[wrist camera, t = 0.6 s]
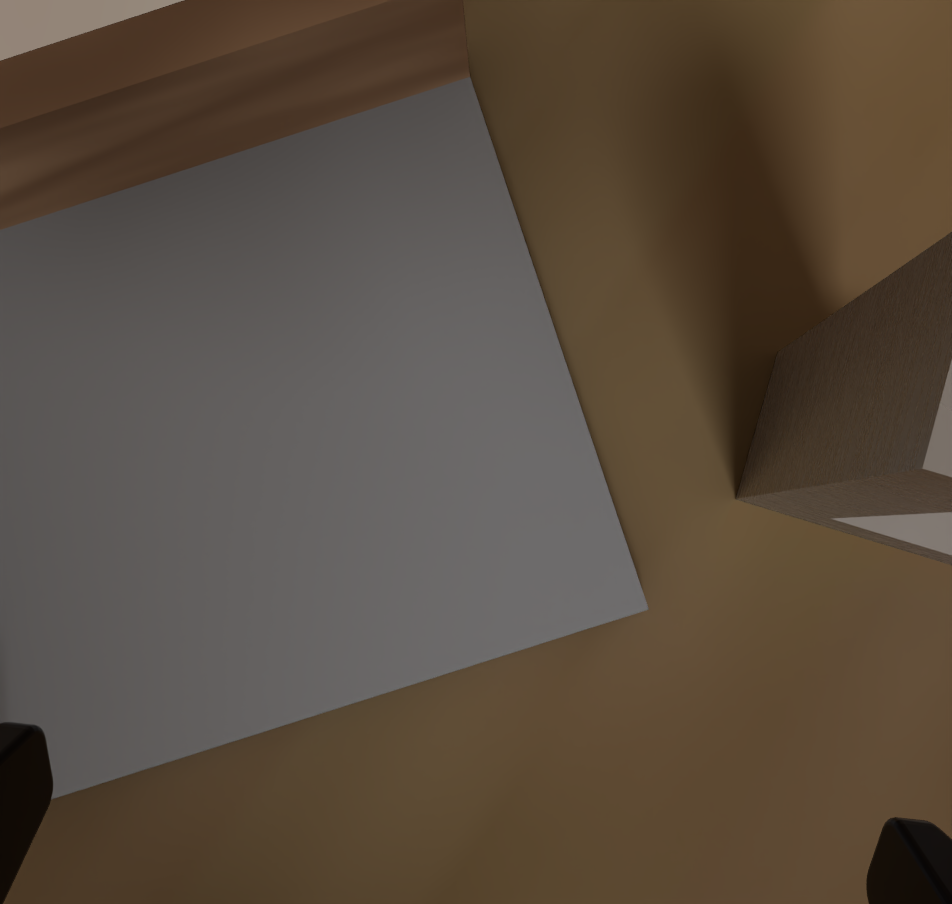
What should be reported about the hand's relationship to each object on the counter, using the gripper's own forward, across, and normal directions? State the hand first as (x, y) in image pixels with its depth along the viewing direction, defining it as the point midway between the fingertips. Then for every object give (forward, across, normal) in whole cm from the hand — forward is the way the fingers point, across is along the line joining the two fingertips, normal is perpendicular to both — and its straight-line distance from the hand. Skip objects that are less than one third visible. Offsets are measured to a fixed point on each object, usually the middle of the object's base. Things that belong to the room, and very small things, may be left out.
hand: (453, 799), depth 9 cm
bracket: (+14, -10, +1) cm, 17 cm away
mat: (+14, +8, +2) cm, 16 cm away
